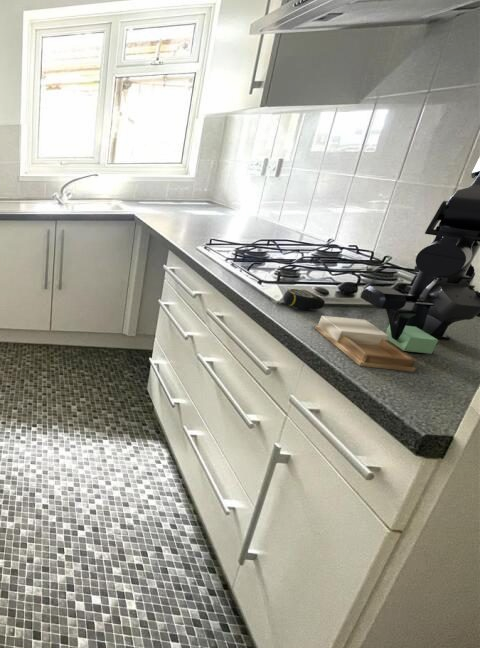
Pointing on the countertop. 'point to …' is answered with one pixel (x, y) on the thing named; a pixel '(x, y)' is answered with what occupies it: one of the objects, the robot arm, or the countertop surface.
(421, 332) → the green rectangular block
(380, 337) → the frame
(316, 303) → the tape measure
